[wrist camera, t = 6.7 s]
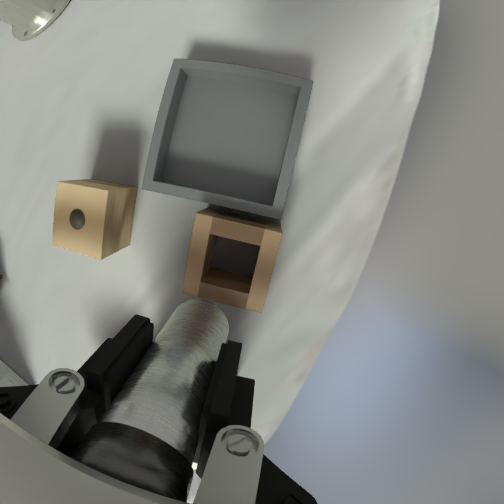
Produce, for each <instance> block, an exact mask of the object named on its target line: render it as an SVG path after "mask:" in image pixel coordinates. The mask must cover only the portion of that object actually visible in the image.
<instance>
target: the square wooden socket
mask: <svg viewBox="0 0 504 504" xmlns="http://www.w3.org/2000/svg"><path fill="white" fill-rule="evenodd" d="M217 236H221V237H225V238H229V239H233V240H238V241H242V242H246V243H250V244H254V245H259V246H260V247H259V251H258V255H257V259H256V264H255V268H254V272H253V276H252V277H251V276H247V275H242V274H238V273H234V272H230V271H226V270H222V269H218V268H214V267H211V262H212V256H213V252H214V247H215V242H216V237H217ZM281 237H282V229H281V225H280V224H276V223H272V222H267V221H263V220H259V219H255V218H251V217H246V216H242V215H238V214H233V213H229V212H225V211H220V210H216V209H211V208H206V209H204V210H201V211H199V212H197V213H196V216H195V221H194V226H193V232H192V237H191V242H190V248H189V254H188V259H187V265H186V271H185V277H184V284H183V290H182V293H185V294H188V295H192V296H196V297H200V298H204V299H207V300H211V301H215V302H219V303H223V304H227V305H231V306H236V307H240V308H244V309H248V310H252V311H257V312H262V309H263V305H264V301H265V298H266V294H267V290H268V286H269V283H270V279H271V275H272V271H273V268H274V264H275V260H276V256H277V252H278V248H279V245H280V241H281Z"/></svg>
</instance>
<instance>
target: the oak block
mask: <svg viewBox="0 0 504 504" xmlns="http://www.w3.org/2000/svg"><path fill="white" fill-rule="evenodd" d="M137 190H138V188H137V187H131V186H126V185H121V184H115V183H110V182H104V181H99V180H93V179H85V180H69V181H57V189H56V198H55V209H54V223H53V245H56V246H59V247H62V248H65V249H68V250H71V251H74V252H77V253H81V254H84V255H87V256H90V257H93V258H97V259H100V260H102V259H104V258H105V257H107V256H109V255H111V254H113V253H115V252H117V251H119V250H121V249H123V248H125V247H127V246H129V245H130V239H131V231H132V223H133V216H134V209H135V203H136V196H137Z"/></svg>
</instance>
